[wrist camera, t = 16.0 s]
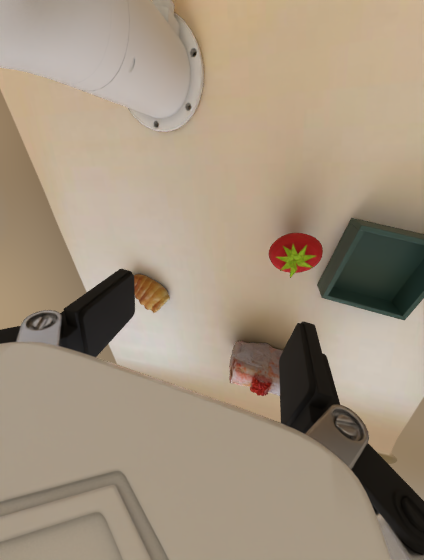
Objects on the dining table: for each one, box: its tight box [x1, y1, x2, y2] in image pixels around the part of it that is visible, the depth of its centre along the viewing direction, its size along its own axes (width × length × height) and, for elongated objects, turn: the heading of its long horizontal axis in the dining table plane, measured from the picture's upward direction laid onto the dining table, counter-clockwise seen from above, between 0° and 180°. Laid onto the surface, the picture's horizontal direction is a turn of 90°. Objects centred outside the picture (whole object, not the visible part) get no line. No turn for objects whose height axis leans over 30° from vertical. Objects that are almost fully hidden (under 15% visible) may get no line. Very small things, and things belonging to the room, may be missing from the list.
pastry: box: [134, 274, 170, 313], centre depth 47 cm, size 9×7×4 cm
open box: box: [317, 218, 424, 320], centre depth 33 cm, size 12×13×4 cm
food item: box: [229, 341, 283, 396], centre depth 46 cm, size 14×8×10 cm, turn 88°
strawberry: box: [269, 233, 323, 278], centre depth 32 cm, size 6×8×10 cm
